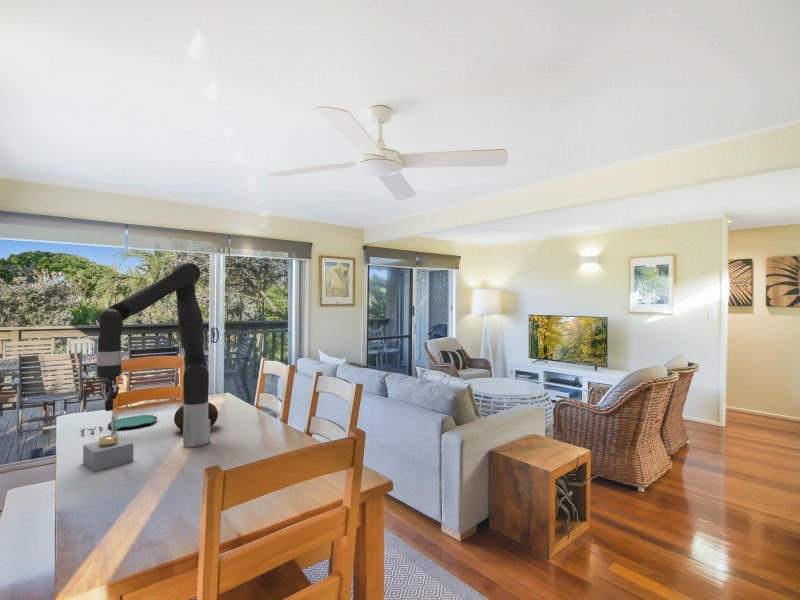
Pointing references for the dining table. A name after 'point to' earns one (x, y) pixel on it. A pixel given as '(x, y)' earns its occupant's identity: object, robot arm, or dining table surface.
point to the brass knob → (108, 441)
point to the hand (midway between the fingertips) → (108, 410)
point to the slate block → (107, 454)
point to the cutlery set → (131, 422)
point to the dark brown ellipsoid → (211, 415)
